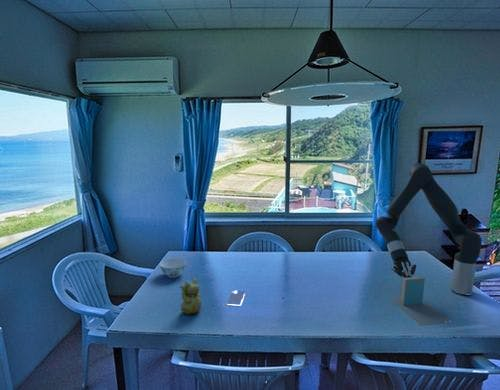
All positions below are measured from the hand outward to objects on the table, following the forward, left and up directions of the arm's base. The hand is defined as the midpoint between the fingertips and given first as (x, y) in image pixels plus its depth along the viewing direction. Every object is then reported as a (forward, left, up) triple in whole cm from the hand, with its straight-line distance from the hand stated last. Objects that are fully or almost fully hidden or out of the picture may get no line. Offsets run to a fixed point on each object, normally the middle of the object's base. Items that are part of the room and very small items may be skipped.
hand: (410, 284), depth 148 cm
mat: (+7, +3, -10) cm, 12 cm away
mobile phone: (+11, -84, -10) cm, 85 cm away
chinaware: (-8, -125, -10) cm, 126 cm away
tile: (+2, 0, -9) cm, 9 cm away
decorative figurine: (+27, -100, -10) cm, 104 cm away
